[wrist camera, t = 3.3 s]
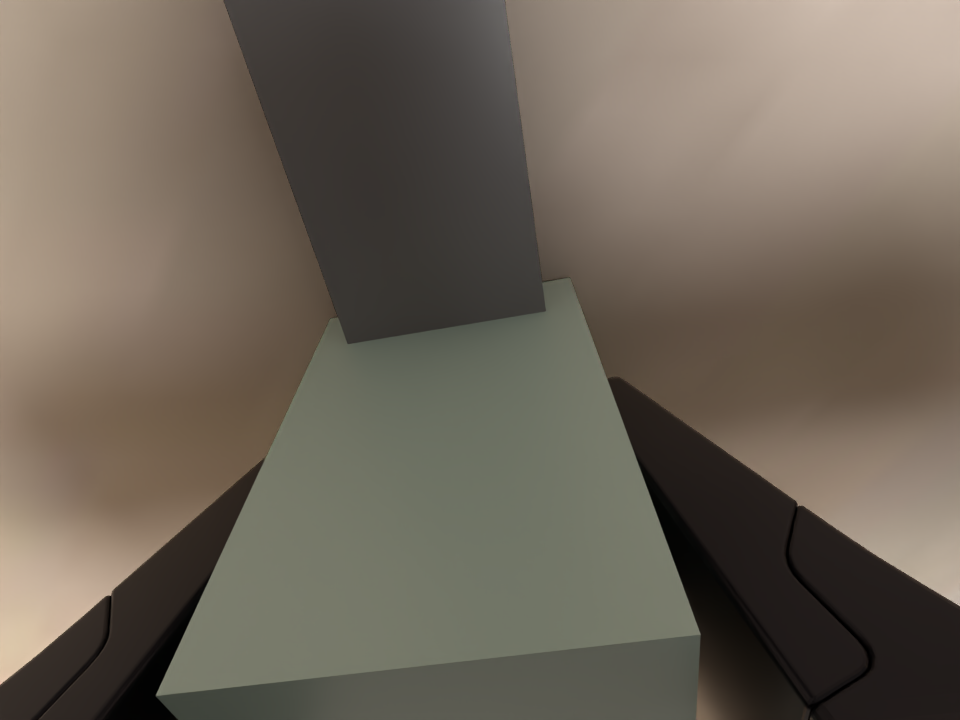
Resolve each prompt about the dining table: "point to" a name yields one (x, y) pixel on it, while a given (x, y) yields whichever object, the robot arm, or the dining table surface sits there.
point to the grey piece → (431, 418)
